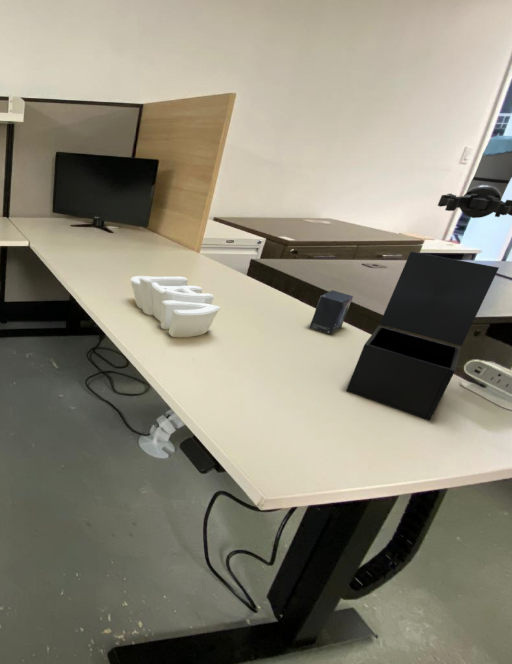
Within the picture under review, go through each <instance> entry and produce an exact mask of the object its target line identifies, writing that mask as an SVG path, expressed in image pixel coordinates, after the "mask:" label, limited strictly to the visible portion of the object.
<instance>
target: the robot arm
mask: <svg viewBox="0 0 512 664" xmlns="http://www.w3.org/2000/svg"><path fill="white" fill-rule="evenodd" d="M511 180H512V135H495V136H493V137H491V138H490V140H489V141H488V143H487V145H486V146H485V149H484V150H483V152H482V154H481V158H480V159H479V162H478V165H477V167H476V170H475V173H474V175H473V177H472V179H471V181H470V182H469V185H468V186H467V187H468V188H467V190H466V192H465V193H464V195H460V196H457V194H453V193H450V192H449V193H447V194H441V196H440V198H439V200H438V203H437V206H438V207H445V209H444V211H448V212H454V211H456V210H457V209H460V211H461V213H462V214H464V215H465V216H466V217H469V218H472V219H480V218H484V217H487V216H489V215H492V214H493V213H495V214H494V217H496V218H500V217H501V216H507V215H508V216H511V217H512V200H511V199H506V200H505V201H503V200H502V199H503V196H504V194H505V192H506V190H507V188H508V185H509V184H510V182H511Z"/></svg>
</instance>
